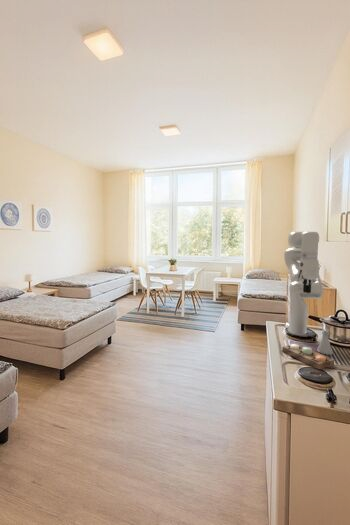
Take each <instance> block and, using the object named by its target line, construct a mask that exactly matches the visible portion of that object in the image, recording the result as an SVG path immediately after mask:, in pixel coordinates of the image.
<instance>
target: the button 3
mask: <svg viewBox="0 0 350 525" xmlns="http://www.w3.org/2000/svg"><path fill="white" fill-rule="evenodd" d="M324 356H325V355H324ZM324 356H321V355H316V357H315V359H316V360H318V361H320V362H325V361H326V358H325V357H324Z"/></svg>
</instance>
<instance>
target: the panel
mask: <svg viewBox="0 0 350 525" xmlns="http://www.w3.org/2000/svg"><path fill="white" fill-rule="evenodd" d="M295 344H296V345H299V349H297V350H294V349H292V348H290V344H287V345H283V346H281V347H282V348H281V349H282V350H281V352H282V353H284V354H287V356H288V355H289V356H290V357H292V356H293V357H292V358H295V359H297V360H298V361H301V362H302V363H304V364H307V366H308V365H309V366H310V367H312V368H314V367H315V368H314V369H316V368H318V369H319V370H322V369H326V368H328V367H333V366H335V359H334V358H331V357H330V356H327V355H325V354H320V353H319V352H317V351H314V350H313V349H312V355H309V356H307V355H305V354H303V353H302V348H303V347H304V346H303V345H301V344H298V343H295ZM316 355H321V356H324V357H325V358H326V361H325V362H320V361H318V360H316V359H315V357H316ZM318 369H317V370H318Z"/></svg>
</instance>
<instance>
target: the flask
mask: <svg viewBox="0 0 350 525" xmlns="http://www.w3.org/2000/svg"><path fill="white" fill-rule="evenodd" d="M321 334H322V338H321V339H320V342H319V344H318V346H317V348H318V350H319V351H320V352H321V353H324V354H323V355H325V354H326V355H325V356H330V355H331V356H333V350H332V346H331V343H330V340H329V335H330V332H327V331H322V332H321Z"/></svg>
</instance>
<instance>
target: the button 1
mask: <svg viewBox="0 0 350 525" xmlns="http://www.w3.org/2000/svg"><path fill="white" fill-rule="evenodd" d="M296 344H297V343H291V344H289V345H290V348H292V349H294V350H297V349H299V345H300V344H299V345H296Z"/></svg>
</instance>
